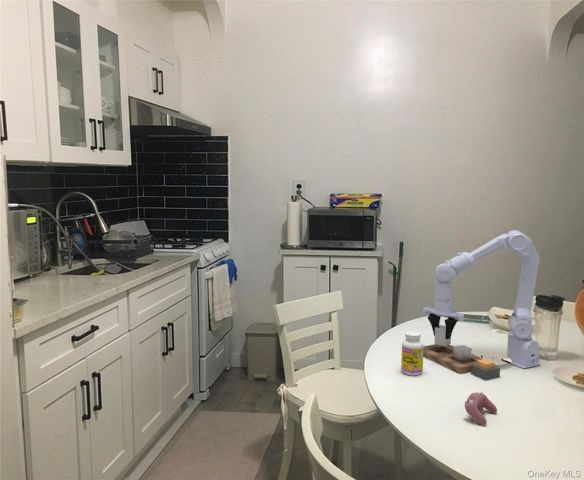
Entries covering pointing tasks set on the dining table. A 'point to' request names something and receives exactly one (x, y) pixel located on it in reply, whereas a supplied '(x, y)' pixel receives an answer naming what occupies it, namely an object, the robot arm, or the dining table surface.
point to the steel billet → (441, 336)
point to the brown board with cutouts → (448, 358)
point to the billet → (462, 354)
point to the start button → (485, 364)
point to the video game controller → (479, 407)
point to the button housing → (485, 372)
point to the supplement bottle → (412, 354)
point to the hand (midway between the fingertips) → (442, 337)
